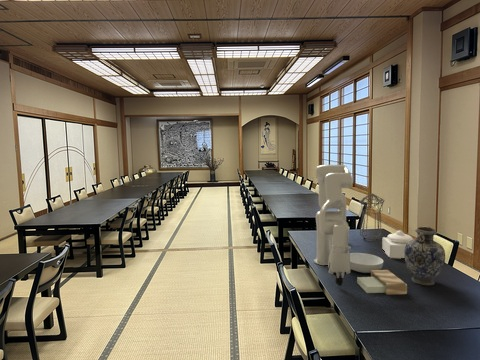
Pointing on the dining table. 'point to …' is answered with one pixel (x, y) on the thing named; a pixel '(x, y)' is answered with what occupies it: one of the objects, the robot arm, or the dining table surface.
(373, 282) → the pale green flat slab
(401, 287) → the overhang
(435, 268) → the decorative vase
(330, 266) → the robot arm
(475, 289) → the dining table surface
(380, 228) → the geometric lantern
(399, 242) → the butter dish
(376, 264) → the serving bowl
